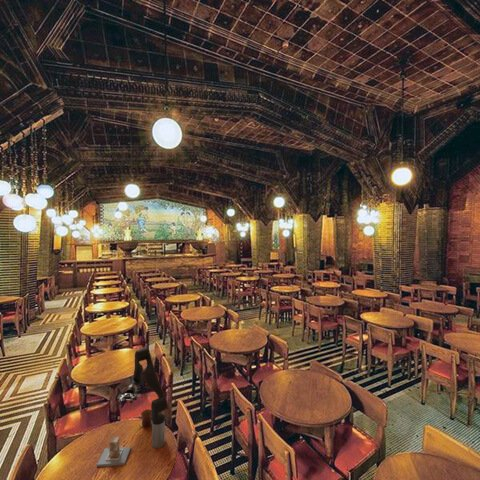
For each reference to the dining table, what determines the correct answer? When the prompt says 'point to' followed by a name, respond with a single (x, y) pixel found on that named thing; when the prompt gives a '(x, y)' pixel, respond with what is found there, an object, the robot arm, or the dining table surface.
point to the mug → (146, 418)
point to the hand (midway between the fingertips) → (124, 402)
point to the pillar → (114, 447)
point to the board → (119, 460)
